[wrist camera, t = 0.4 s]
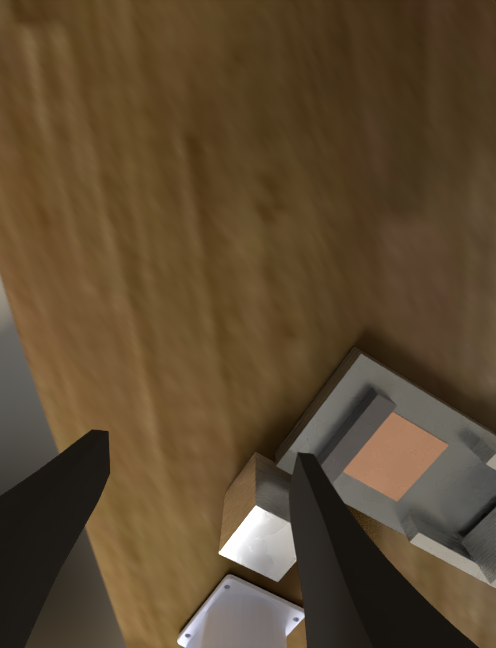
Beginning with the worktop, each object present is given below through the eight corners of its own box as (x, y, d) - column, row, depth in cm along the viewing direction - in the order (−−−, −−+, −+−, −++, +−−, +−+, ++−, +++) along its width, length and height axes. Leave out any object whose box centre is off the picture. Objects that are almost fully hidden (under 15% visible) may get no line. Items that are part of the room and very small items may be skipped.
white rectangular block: (273, 516, 25) (278, 582, 20) (225, 492, 25) (218, 553, 20) (304, 477, 24) (317, 536, 19) (255, 451, 24) (255, 505, 19)
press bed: (472, 559, 26) (499, 599, 23) (274, 452, 24) (277, 482, 21) (563, 474, 24) (606, 507, 21) (353, 345, 21) (369, 362, 18)
